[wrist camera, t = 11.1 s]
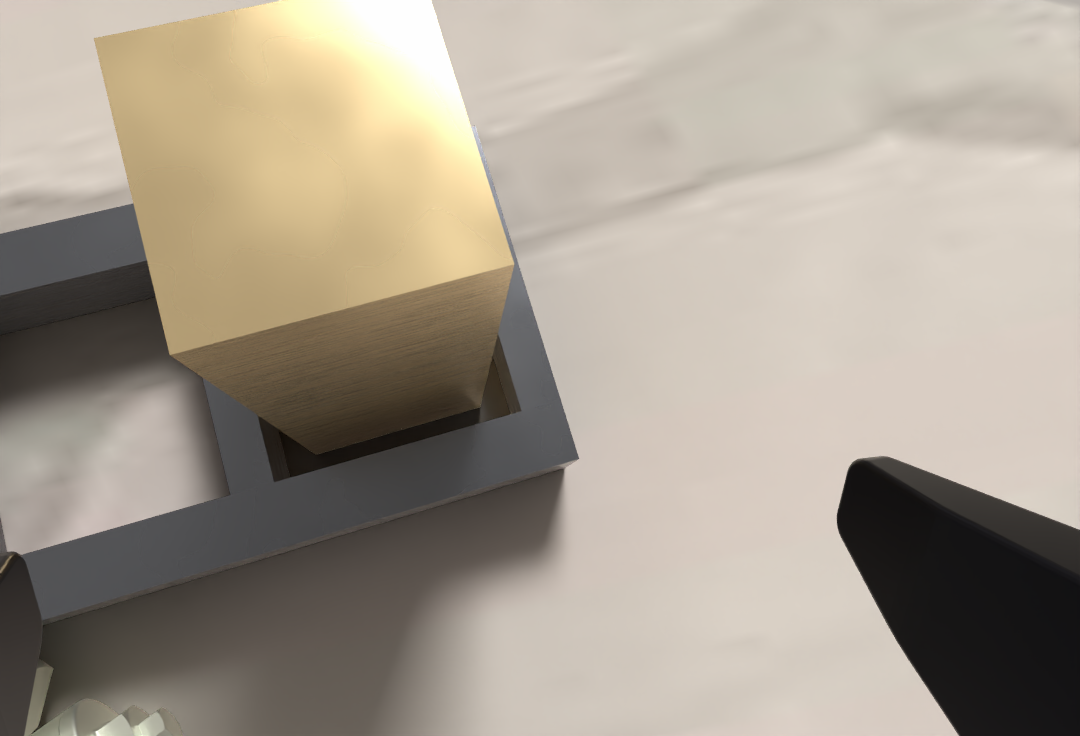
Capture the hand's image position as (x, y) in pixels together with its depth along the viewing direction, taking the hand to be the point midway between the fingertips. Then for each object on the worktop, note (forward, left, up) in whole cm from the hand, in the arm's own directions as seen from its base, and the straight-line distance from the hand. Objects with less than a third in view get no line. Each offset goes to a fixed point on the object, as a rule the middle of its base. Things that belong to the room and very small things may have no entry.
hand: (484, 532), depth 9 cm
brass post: (+6, 0, -13) cm, 14 cm away
